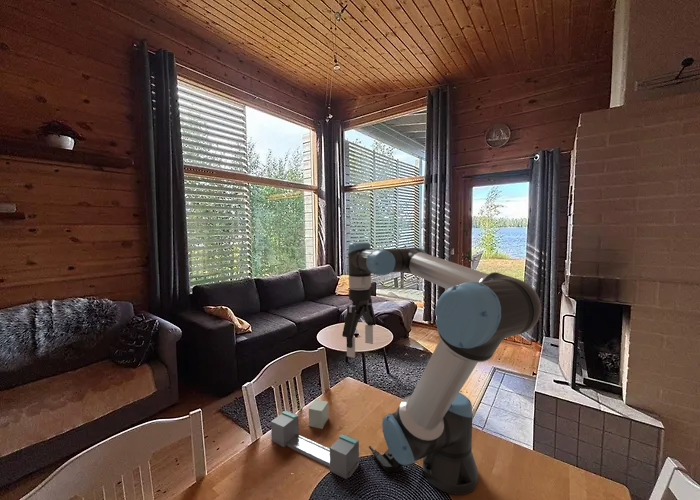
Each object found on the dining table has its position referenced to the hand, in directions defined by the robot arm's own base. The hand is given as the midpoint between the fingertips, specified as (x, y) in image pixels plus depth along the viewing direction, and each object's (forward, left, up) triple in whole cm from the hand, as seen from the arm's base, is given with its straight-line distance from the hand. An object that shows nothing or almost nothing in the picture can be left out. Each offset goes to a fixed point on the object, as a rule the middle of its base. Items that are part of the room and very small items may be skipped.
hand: (360, 349), depth 104 cm
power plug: (-9, +6, -25) cm, 27 cm away
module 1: (+19, +17, -28) cm, 38 cm away
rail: (+7, +17, -28) cm, 34 cm away
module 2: (+14, +5, -28) cm, 32 cm away
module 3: (-4, +17, -28) cm, 33 cm away
